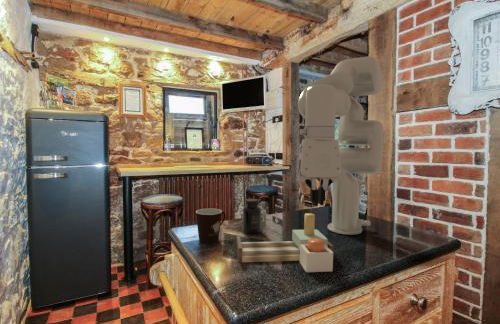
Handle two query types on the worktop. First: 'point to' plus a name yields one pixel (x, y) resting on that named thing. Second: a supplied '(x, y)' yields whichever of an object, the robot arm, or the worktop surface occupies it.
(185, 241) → the worktop surface
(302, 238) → the block
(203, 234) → the coffee mug
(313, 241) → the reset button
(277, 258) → the track
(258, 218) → the supplement bottle
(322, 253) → the white open box
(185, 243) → the worktop surface
